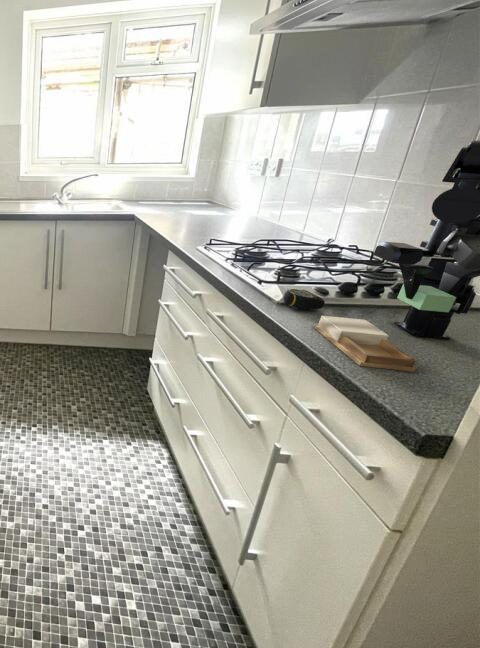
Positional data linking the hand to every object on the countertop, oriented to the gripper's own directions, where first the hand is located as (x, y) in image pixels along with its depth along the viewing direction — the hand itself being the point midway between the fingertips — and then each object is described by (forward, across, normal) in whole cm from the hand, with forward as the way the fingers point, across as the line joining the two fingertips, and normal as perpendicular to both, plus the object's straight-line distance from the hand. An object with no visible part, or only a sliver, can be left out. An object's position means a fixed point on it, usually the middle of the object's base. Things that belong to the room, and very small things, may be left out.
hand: (423, 299), depth 79 cm
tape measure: (+11, -9, +19) cm, 24 cm away
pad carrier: (+11, -8, -2) cm, 13 cm away
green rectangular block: (+1, 0, 0) cm, 1 cm away
